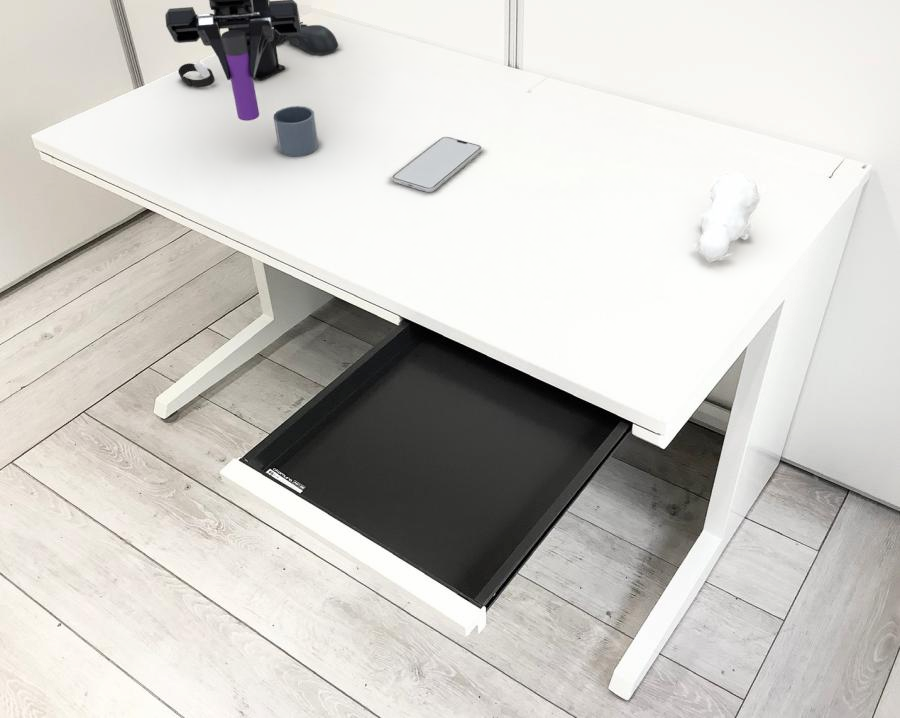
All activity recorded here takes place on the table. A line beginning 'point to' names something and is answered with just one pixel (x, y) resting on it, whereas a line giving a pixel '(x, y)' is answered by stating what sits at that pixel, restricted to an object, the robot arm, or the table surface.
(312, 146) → the pen holder
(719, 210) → the white animal figurine
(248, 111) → the glue stick
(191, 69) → the watch
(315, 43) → the computer mouse
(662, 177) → the table surface
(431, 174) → the smartphone
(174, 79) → the table surface
